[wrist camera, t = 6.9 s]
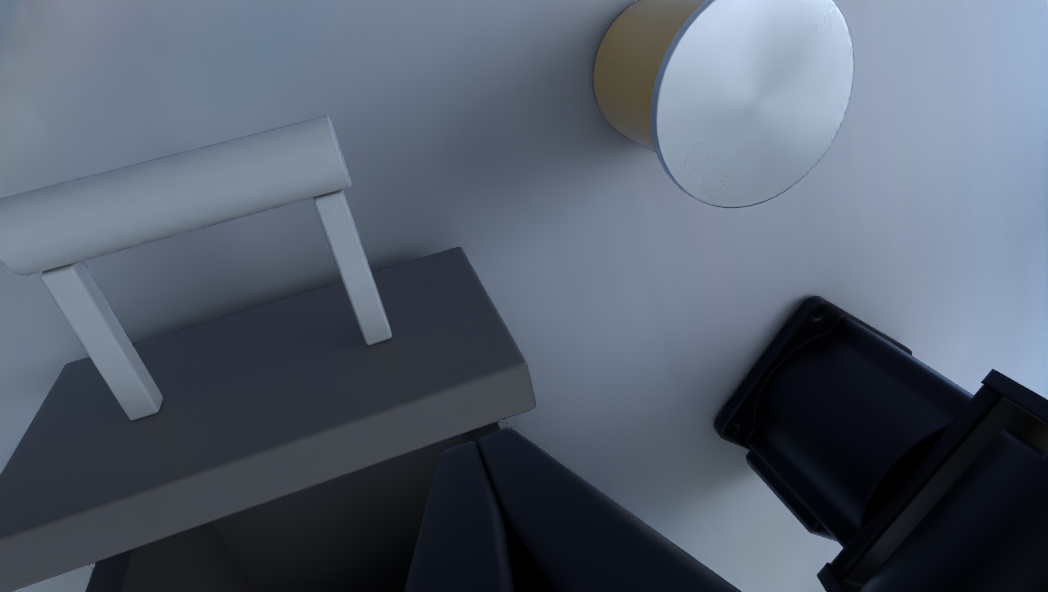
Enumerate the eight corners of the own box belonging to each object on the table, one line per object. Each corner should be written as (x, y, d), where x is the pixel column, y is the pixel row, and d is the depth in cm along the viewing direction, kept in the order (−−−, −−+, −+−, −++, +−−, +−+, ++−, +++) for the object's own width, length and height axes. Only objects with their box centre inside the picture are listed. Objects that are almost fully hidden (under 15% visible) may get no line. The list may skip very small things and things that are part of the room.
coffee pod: (641, -68, 17) (750, -79, 13) (766, 36, 19) (893, 56, 15) (542, 107, 18) (613, 148, 14) (670, 185, 20) (763, 240, 16)
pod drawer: (-57, 179, 14) (-281, 313, 9) (413, 63, 16) (472, 114, 10) (255, 652, 23) (241, 867, 17) (537, 542, 24) (604, 706, 19)
